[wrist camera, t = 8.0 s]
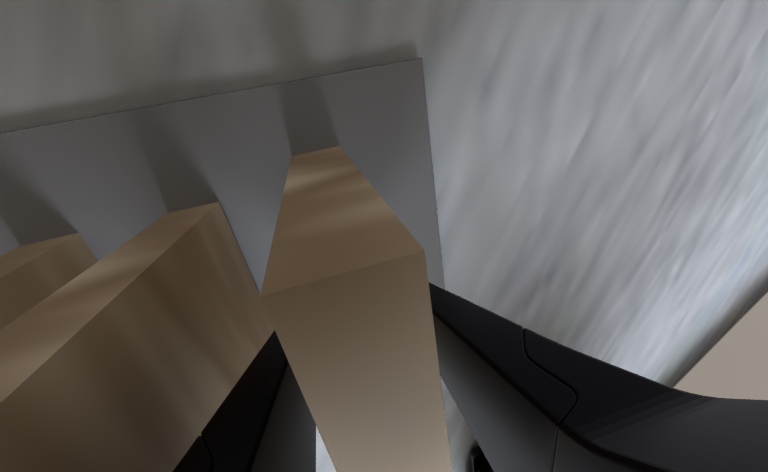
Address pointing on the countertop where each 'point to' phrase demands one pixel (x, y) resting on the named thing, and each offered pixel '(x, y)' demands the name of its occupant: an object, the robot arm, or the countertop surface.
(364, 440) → the domino
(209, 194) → the slate mat
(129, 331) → the domino
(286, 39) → the countertop surface
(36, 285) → the domino
